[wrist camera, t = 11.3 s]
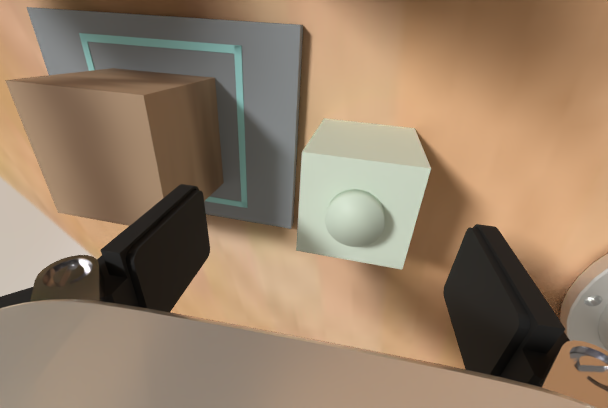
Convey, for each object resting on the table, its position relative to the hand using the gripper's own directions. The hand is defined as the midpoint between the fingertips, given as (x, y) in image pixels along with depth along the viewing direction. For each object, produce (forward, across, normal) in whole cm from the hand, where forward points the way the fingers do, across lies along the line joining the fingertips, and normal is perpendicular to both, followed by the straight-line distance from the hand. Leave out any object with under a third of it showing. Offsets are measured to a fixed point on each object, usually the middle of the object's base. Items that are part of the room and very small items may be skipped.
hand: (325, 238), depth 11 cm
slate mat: (+9, +11, -1) cm, 14 cm away
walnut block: (+8, +11, -1) cm, 14 cm away
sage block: (+8, -1, 0) cm, 9 cm away
